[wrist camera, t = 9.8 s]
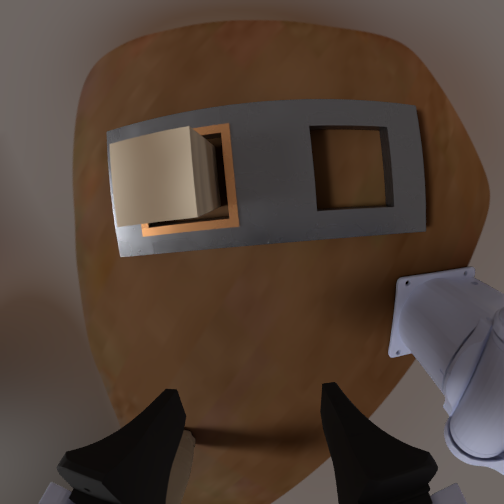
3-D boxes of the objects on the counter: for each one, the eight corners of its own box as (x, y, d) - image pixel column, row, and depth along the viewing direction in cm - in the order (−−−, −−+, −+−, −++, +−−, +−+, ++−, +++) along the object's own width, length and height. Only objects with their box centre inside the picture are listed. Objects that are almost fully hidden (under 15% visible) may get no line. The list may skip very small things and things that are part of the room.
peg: (215, 146, 19) (189, 126, 12) (220, 206, 20) (197, 217, 13) (158, 156, 20) (109, 144, 12) (164, 212, 21) (117, 227, 13)
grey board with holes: (406, 109, 18) (416, 105, 16) (416, 228, 20) (427, 231, 18) (115, 134, 19) (105, 131, 18) (128, 252, 21) (119, 257, 20)
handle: (161, 441, 27) (127, 535, 12) (165, 413, 26) (122, 522, 11) (198, 453, 27) (175, 550, 13) (207, 426, 26) (181, 541, 11)
